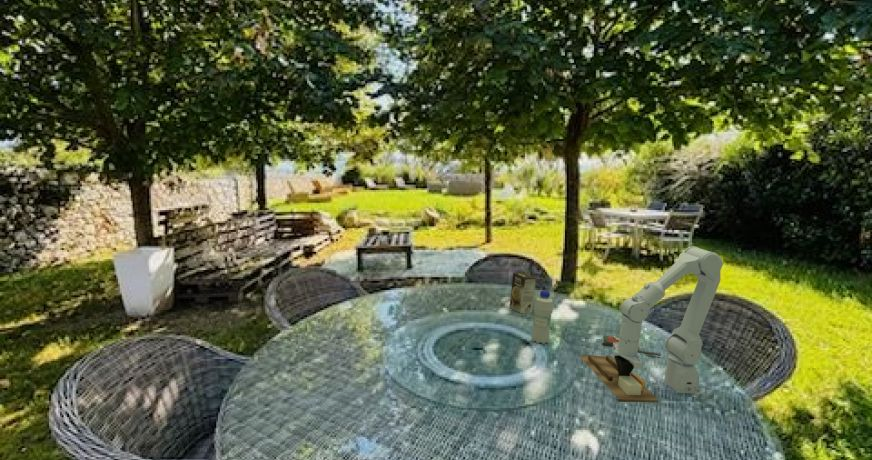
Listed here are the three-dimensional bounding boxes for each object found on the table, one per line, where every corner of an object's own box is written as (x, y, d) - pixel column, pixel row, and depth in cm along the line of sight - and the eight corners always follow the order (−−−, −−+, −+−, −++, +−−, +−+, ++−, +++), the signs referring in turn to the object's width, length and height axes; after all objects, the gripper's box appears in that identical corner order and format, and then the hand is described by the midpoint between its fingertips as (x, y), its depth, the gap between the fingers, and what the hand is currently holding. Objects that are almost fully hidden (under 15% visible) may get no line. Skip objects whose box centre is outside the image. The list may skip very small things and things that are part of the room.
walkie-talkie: (602, 350, 178) (660, 359, 174) (603, 338, 178) (662, 348, 173) (600, 341, 187) (656, 350, 182) (601, 330, 186) (657, 339, 182)
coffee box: (508, 307, 219) (512, 272, 217) (520, 306, 222) (524, 271, 220) (520, 313, 211) (524, 277, 209) (532, 312, 214) (536, 277, 211)
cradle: (658, 402, 141) (659, 395, 141) (618, 401, 140) (619, 394, 139) (610, 358, 171) (611, 352, 170) (578, 357, 169) (578, 351, 169)
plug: (640, 395, 143) (641, 385, 143) (627, 394, 143) (628, 385, 142) (630, 385, 149) (631, 376, 149) (617, 385, 149) (619, 375, 148)
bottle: (527, 343, 178) (533, 290, 175) (533, 337, 184) (539, 286, 181) (545, 348, 175) (552, 294, 172) (550, 342, 181) (557, 290, 178)
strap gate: (631, 381, 151) (633, 372, 151) (643, 391, 145) (645, 381, 145) (629, 381, 151) (630, 372, 151) (640, 391, 145) (642, 381, 145)
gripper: (606, 329, 154) (600, 369, 156) (628, 347, 140) (621, 391, 142) (627, 329, 155) (621, 369, 157) (651, 348, 141) (644, 392, 143)
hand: (622, 380), depth 150 cm, fingers closed
